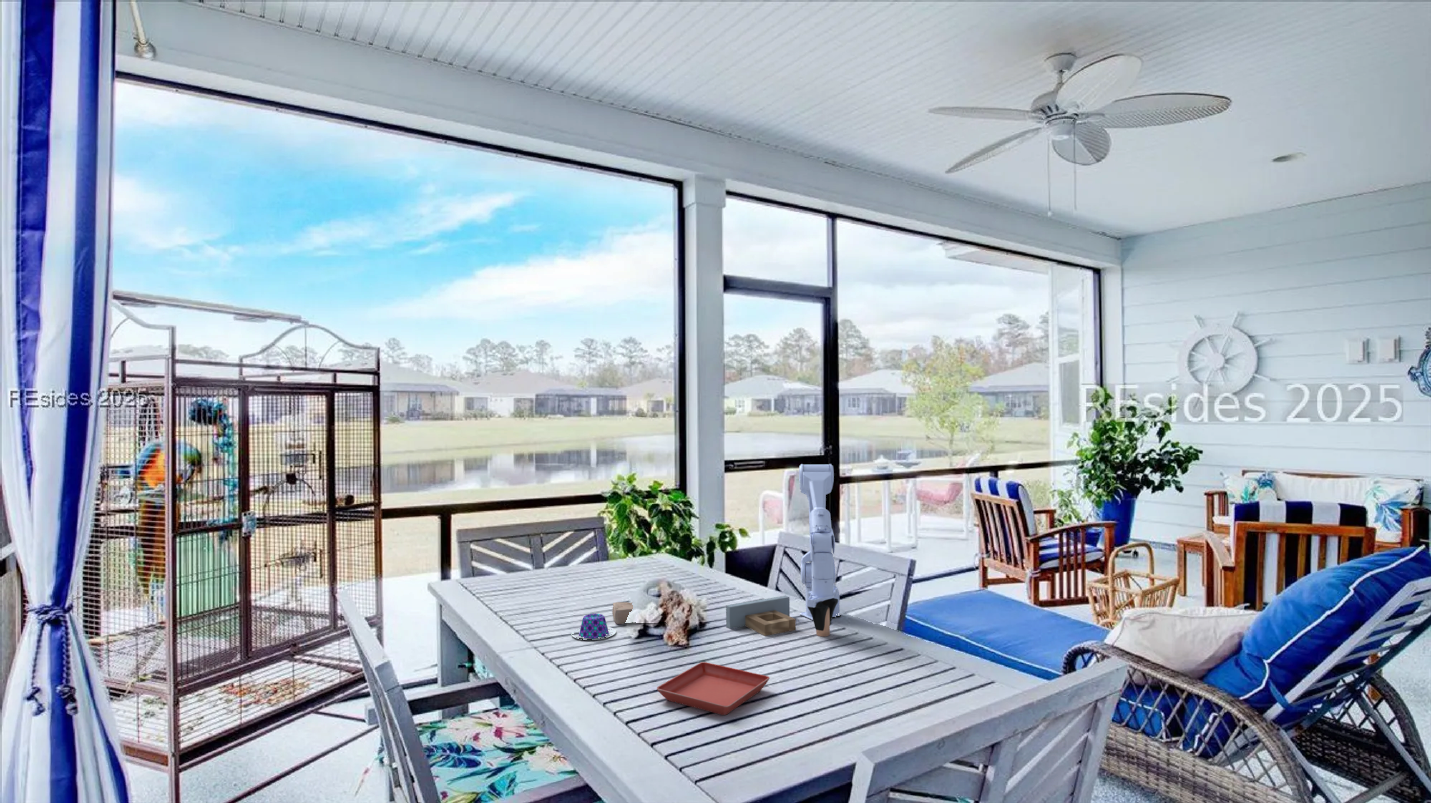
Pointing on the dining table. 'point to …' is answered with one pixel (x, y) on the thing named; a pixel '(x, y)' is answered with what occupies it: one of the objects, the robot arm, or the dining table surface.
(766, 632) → the socket block
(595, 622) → the pudding
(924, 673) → the dining table surface
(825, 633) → the dowel
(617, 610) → the brick
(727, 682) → the plant saucer
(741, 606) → the wall
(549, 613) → the dining table surface
